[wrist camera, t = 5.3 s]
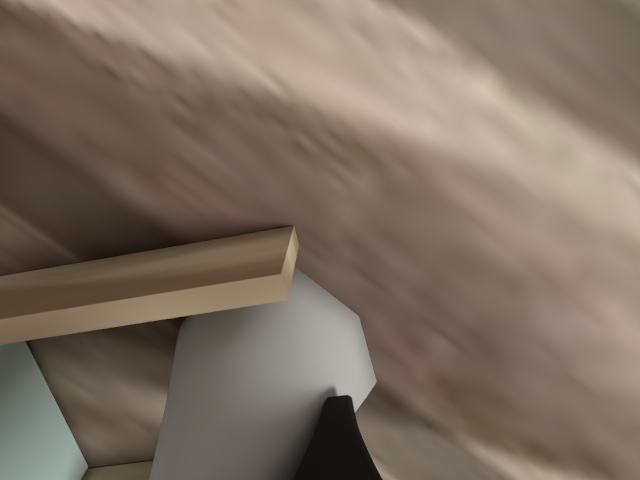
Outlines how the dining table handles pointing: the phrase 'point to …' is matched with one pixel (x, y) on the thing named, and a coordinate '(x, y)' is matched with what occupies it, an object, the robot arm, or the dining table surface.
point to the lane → (147, 294)
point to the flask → (258, 385)
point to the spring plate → (32, 423)
